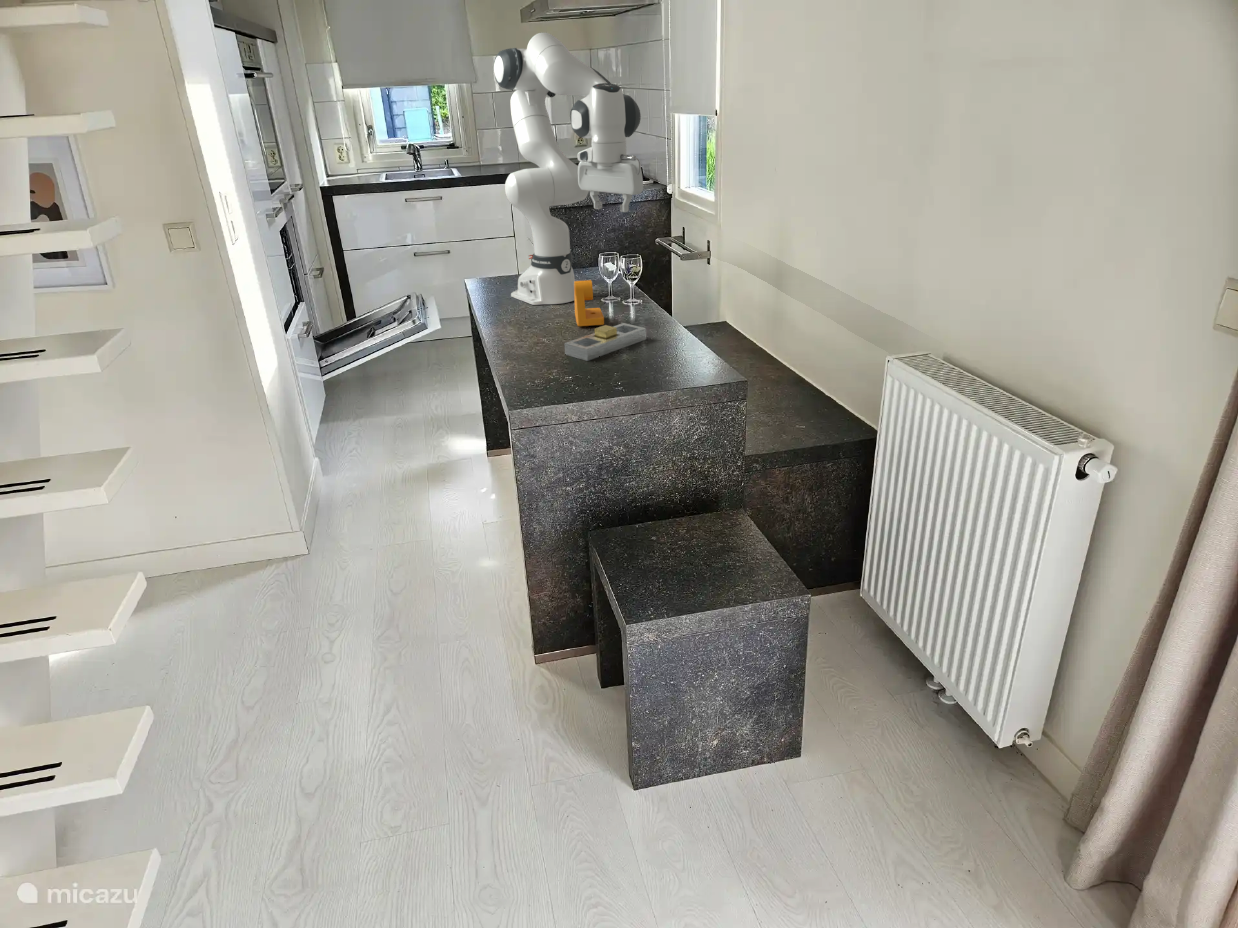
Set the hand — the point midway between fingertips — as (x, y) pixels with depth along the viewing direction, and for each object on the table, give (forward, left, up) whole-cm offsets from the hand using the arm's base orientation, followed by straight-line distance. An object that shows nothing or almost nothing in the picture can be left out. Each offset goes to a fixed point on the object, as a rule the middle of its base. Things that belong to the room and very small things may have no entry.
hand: (611, 210), depth 212 cm
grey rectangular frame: (+11, -15, -31) cm, 36 cm away
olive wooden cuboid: (+11, -15, -31) cm, 36 cm away
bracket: (-8, -2, -31) cm, 32 cm away
